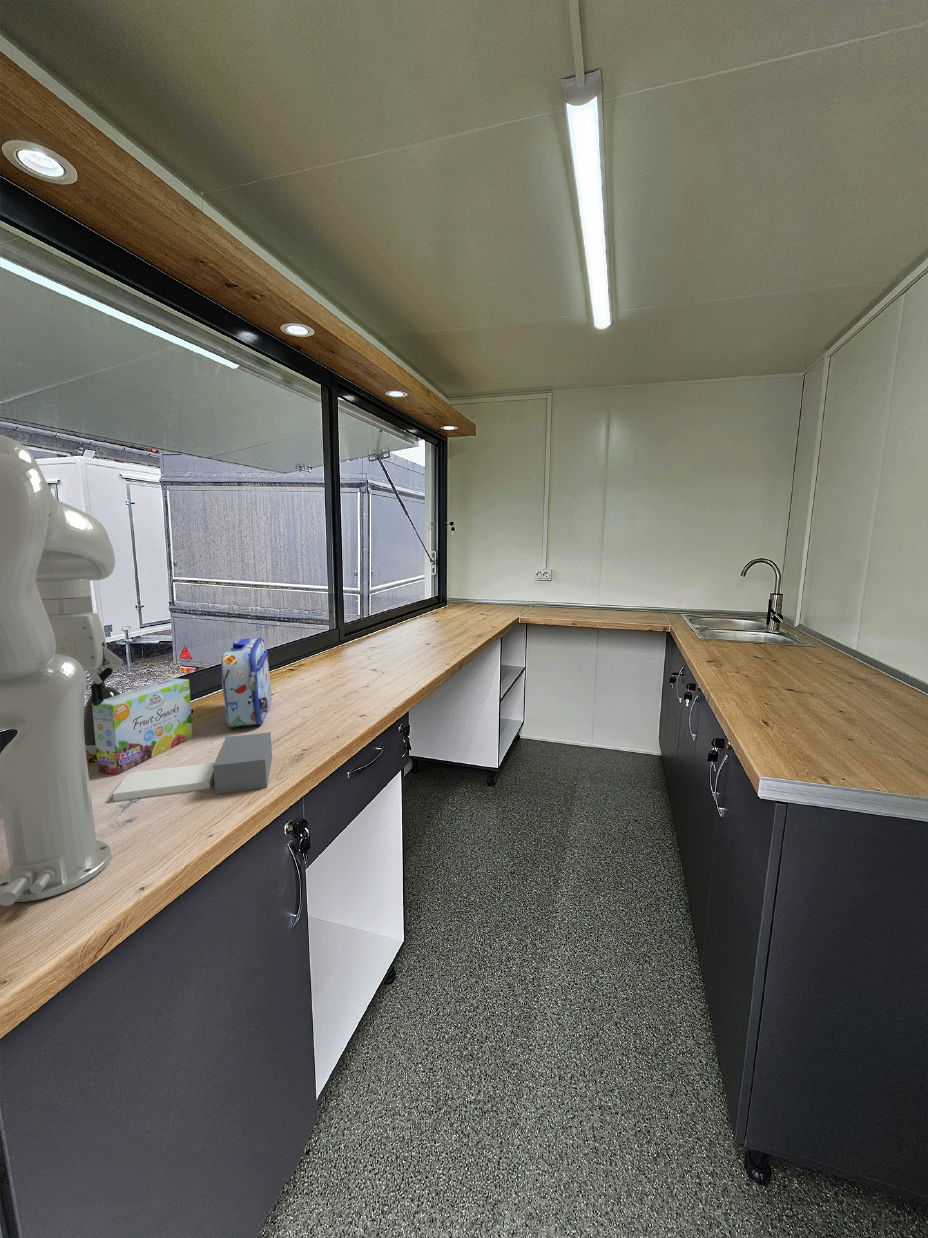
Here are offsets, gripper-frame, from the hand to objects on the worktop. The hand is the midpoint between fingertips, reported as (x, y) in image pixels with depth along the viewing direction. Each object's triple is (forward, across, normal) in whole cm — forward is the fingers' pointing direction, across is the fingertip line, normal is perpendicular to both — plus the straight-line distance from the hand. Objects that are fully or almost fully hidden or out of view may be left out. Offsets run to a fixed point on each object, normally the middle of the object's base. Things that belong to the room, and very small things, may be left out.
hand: (77, 704), depth 92 cm
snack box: (+18, +6, +18) cm, 26 cm away
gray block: (+18, +27, 0) cm, 32 cm away
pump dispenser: (+18, -4, +22) cm, 28 cm away
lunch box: (+18, +24, +38) cm, 49 cm away
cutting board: (+18, +14, 0) cm, 23 cm away
